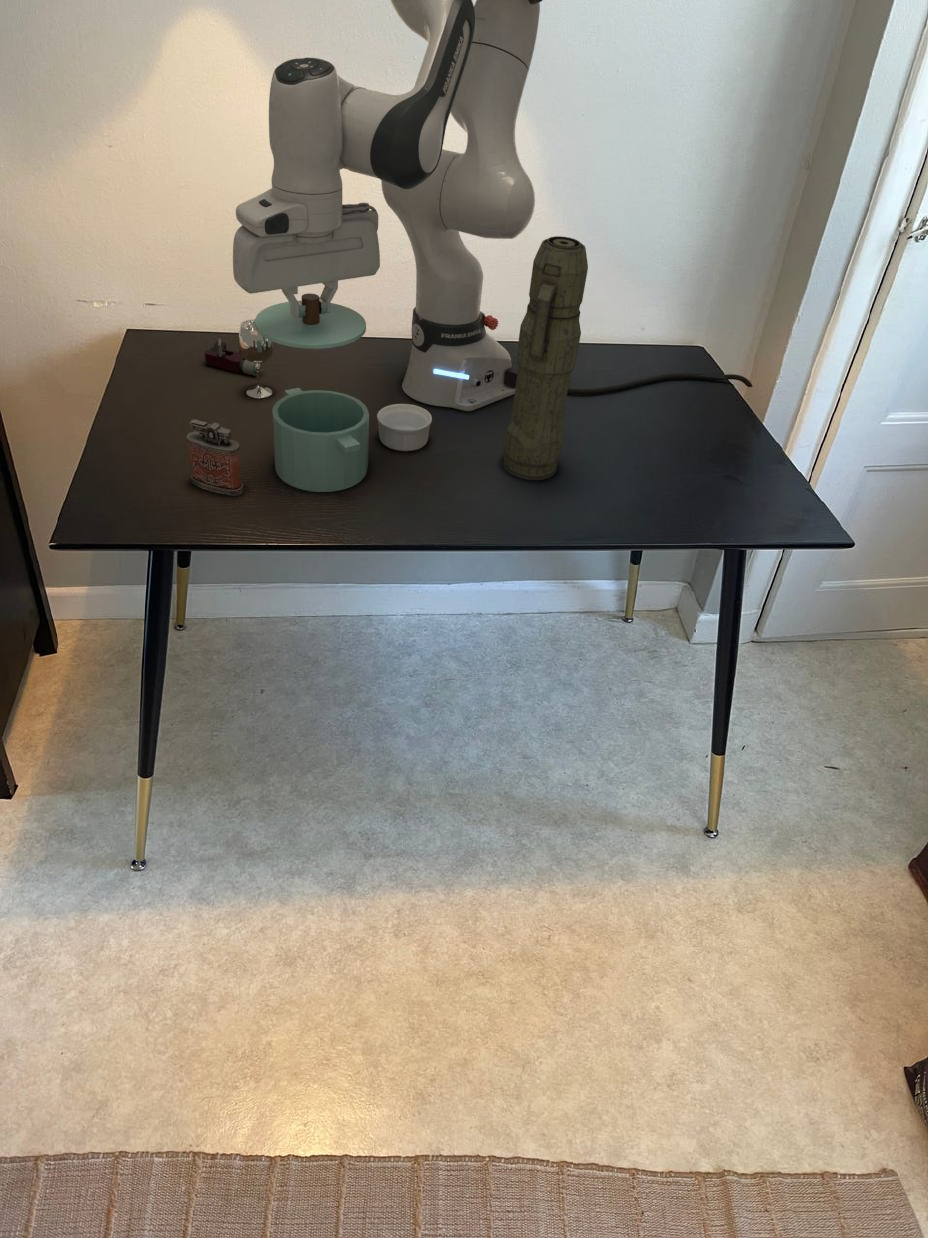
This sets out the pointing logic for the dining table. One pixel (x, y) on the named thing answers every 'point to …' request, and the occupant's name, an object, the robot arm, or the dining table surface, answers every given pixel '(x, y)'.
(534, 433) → the thermos
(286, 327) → the lid
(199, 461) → the lighter
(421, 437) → the ramekin
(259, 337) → the wineglass
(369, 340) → the dining table surface
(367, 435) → the pot
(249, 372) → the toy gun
